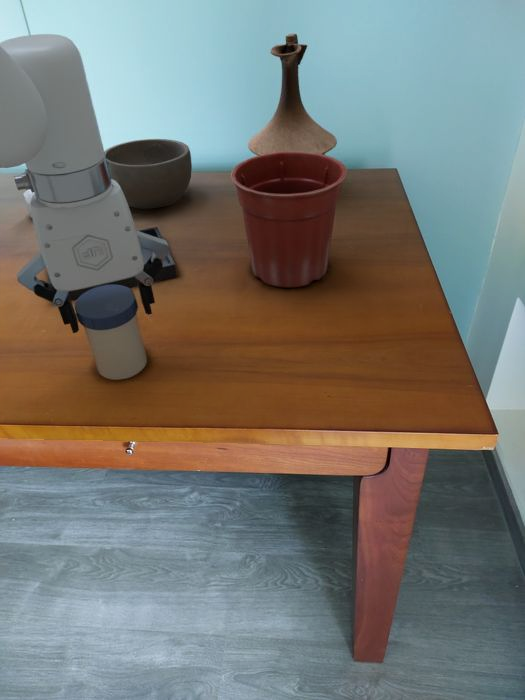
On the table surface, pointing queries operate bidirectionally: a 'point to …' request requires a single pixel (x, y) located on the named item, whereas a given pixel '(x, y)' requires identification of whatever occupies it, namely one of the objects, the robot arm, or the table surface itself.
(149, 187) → the bowl
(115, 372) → the jar
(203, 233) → the table surface
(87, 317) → the jar lid
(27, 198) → the garlic bulb
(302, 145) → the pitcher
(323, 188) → the flower pot
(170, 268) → the tray
